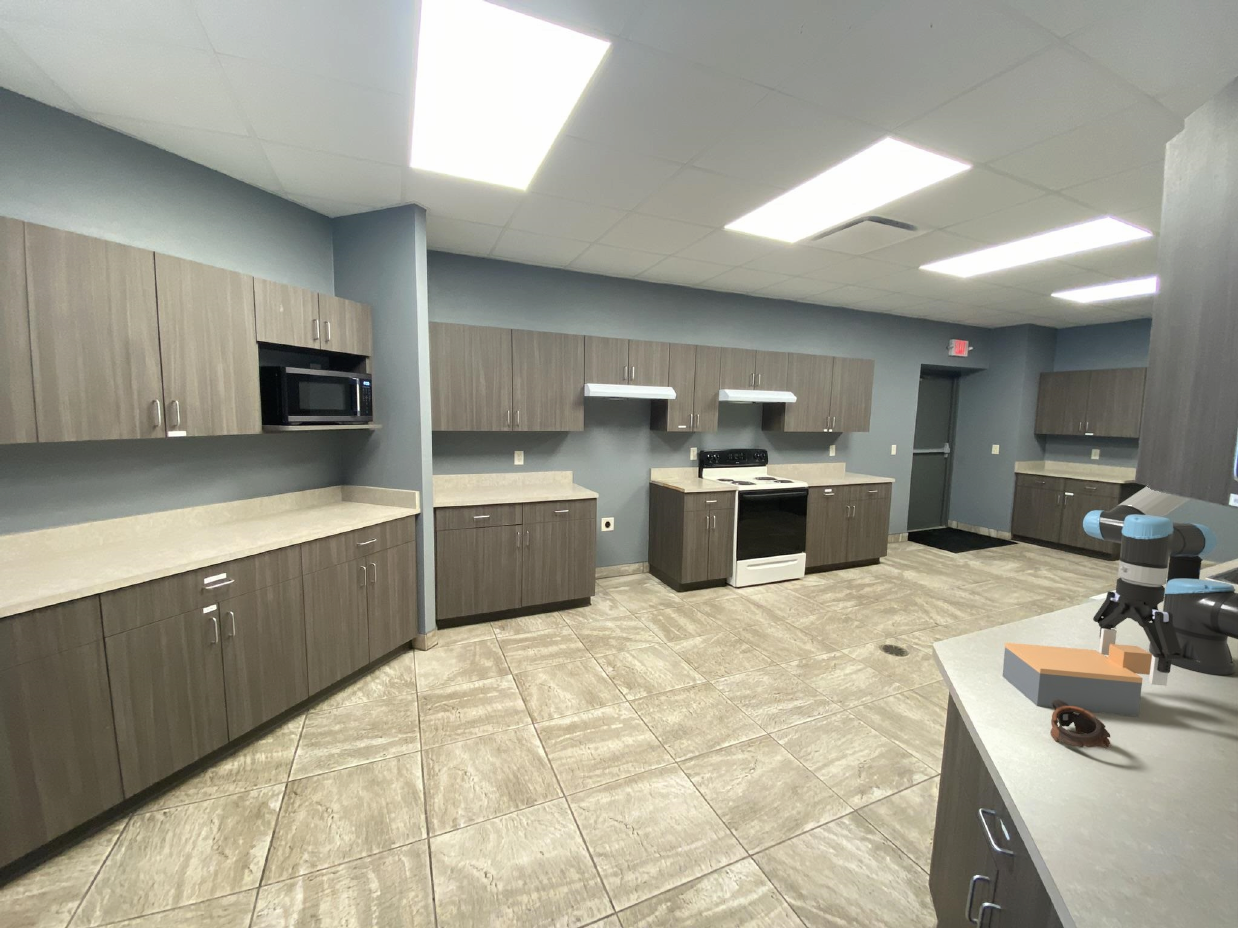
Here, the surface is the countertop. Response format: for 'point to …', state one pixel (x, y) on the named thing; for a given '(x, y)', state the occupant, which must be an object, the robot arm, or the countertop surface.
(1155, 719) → the countertop surface
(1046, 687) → the tub
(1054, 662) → the lid
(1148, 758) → the countertop surface
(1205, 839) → the countertop surface
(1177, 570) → the aerosol can
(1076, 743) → the brown jagged ring
